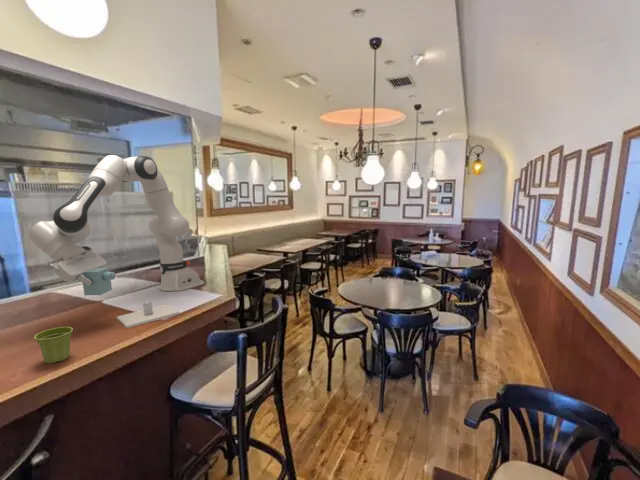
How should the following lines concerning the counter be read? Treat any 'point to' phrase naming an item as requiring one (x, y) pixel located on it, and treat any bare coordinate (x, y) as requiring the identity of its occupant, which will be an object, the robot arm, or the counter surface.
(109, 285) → the light blue pegged cube
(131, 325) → the board
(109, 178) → the robot arm
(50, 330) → the plant pot
